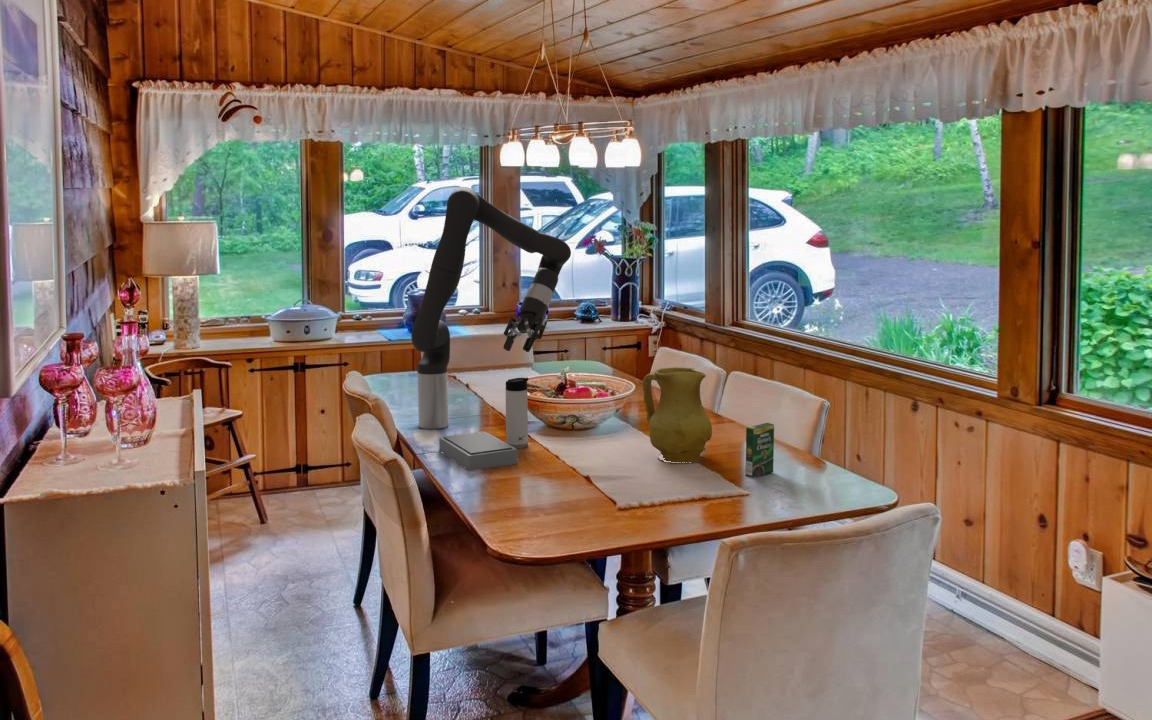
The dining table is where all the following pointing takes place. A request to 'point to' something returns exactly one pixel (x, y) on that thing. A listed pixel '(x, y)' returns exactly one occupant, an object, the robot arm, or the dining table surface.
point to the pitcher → (677, 414)
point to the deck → (478, 450)
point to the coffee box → (759, 449)
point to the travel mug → (516, 412)
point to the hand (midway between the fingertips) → (515, 350)
